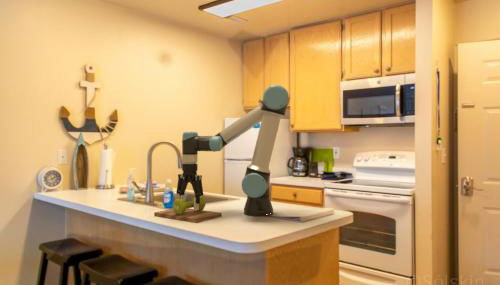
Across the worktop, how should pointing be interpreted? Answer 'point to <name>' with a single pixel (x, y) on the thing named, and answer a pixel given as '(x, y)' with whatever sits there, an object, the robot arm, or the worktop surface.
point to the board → (188, 215)
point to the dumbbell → (186, 205)
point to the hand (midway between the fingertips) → (189, 209)
